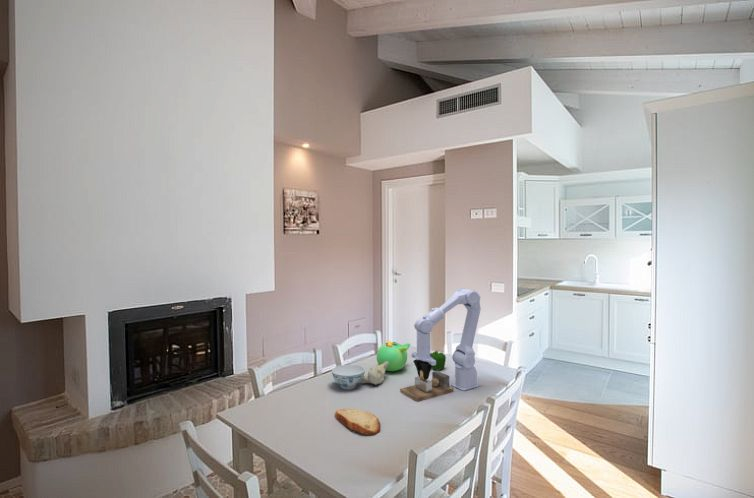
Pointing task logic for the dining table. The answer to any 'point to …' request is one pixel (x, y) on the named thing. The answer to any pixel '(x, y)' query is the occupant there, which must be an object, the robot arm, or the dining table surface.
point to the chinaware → (348, 375)
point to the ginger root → (375, 374)
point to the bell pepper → (438, 360)
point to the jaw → (423, 383)
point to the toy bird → (393, 355)
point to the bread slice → (359, 421)
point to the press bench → (438, 388)
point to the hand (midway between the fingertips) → (423, 377)
